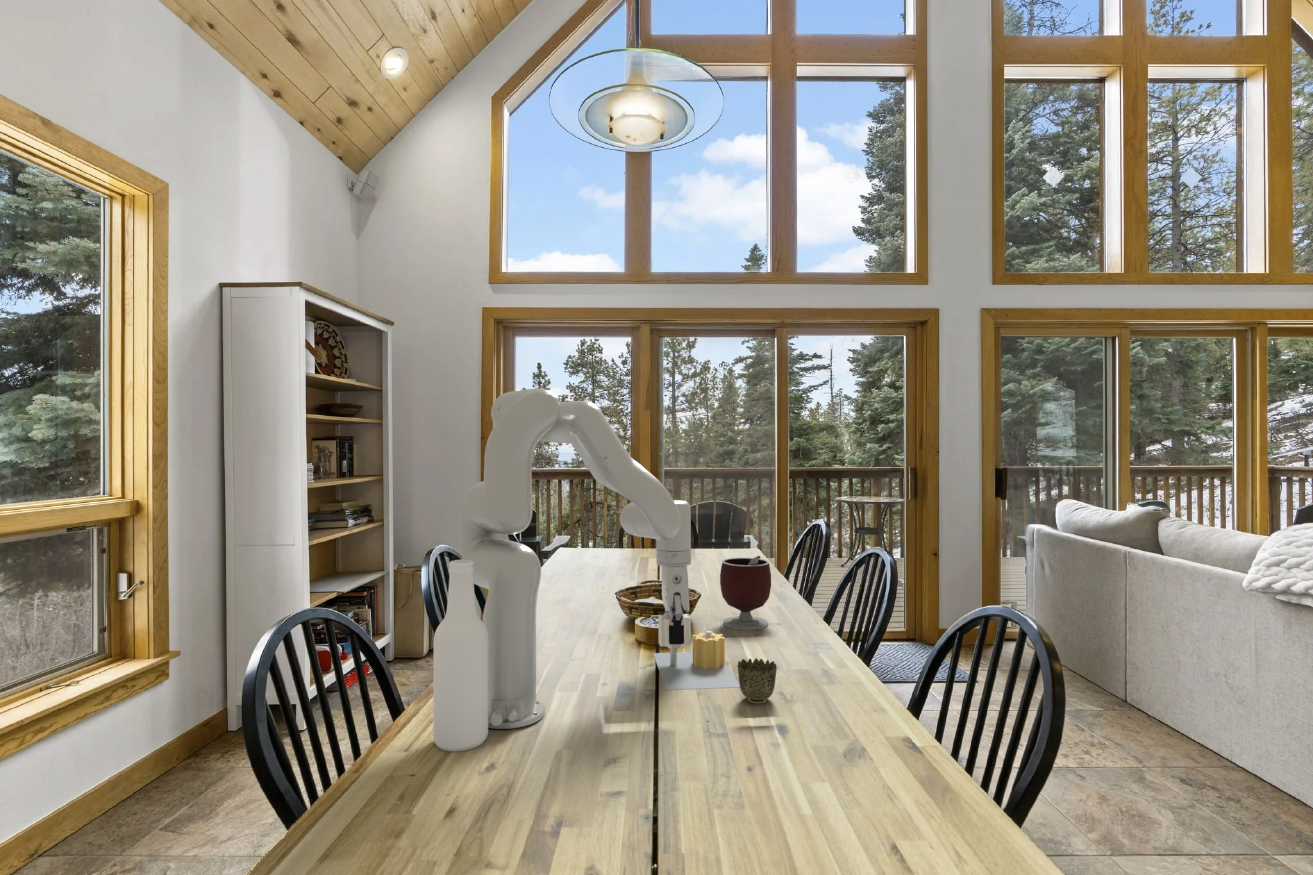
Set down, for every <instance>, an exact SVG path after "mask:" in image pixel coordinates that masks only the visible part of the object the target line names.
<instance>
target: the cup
mask: <svg viewBox="0 0 1313 875" xmlns="http://www.w3.org/2000/svg"><path fill="white" fill-rule="evenodd" d="M736 666H737V673H738V674H737V675H738V676H737V677H738V683H739V685H740V687H739V688H740V690H741V693H742V694H743V696H744V697H745V698H747V701H748V702H750V703H752V704H763V703H766V702H767V699H769V698H770V697H771V696H772V695H773V693H774V690H775V686H776V679H777V668H778V667H777V663H775V661H774V660H772V661H771V662H770V661H769V659H767V660H766V661H764V660H763V659H762V658H760V659H758V658H757V657H756V658H754V660H753V661H752V659H751V658H749V659H748V660H746V659H744V658H742V659H741V661H740V660H738V661H737V665H736Z"/></svg>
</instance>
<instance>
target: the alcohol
mask: <svg viewBox="0 0 1313 875" xmlns="http://www.w3.org/2000/svg"><path fill="white" fill-rule="evenodd" d="M473 564H474V562H473V561H472V560H462V559H455V560H451V561H450V562H448V566H449V569H448V573H449V580H448V593H447V605H446V612H445V616H444V618H443V620H442V621H441V622H440V623H439V625H438V626H437V628H436V630H435V633H434V637H433V699H432V700H433V703H432V704H433V714H432V715H433V718H432V721H433V735H432V736H433V738H432V740H433V742H434V743H435V745H436V747H437V748H438V749H440V750H442V751H445V752H456V753H457V752H465V751H469V750H473V749H475V748H479V747H481V745H482V744H483V743H484V742H485V741H486V739H487V738H488V735H489V728H488V632H487V628H486V626H485V624H484V623H483V619H481V618H480V617H479V615H478V613H477V609H476V598H475V596H476V594H475V584H474V582H473V571H474V568H473Z"/></svg>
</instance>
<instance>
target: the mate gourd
mask: <svg viewBox="0 0 1313 875" xmlns="http://www.w3.org/2000/svg"><path fill="white" fill-rule="evenodd" d="M721 562H722V563H721V567H720V575H719V584H720V591H721V596H722V598H723V599H724V601H725V603H726V604H727V605H728V606H730V607H731V608H734V609H737V610H738V611H739V612H740V613H739V616H737V615H736V616H730V617H726V618H724V619H723V620H722V624H723V626H725V627H727V628H730V629H733V630H739V629H741V630H740V631H757V630H756V629H758V630H762V629H766V628H767V627H769V621H768V620H767V619H765V618H762V617H756V616H752V615H753V614H752V613H751V612H752V611H755V610H757V609H759V608H762V607H763V606H765V604H766V603H767V601H768V600H769V599H770V598H769V597H770V595H771V588H772V572H771V566H770V561H769V560H766V559H761V556H760V555H756V556H755V557H729V558H725V559H723V560H722V561H721Z"/></svg>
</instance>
